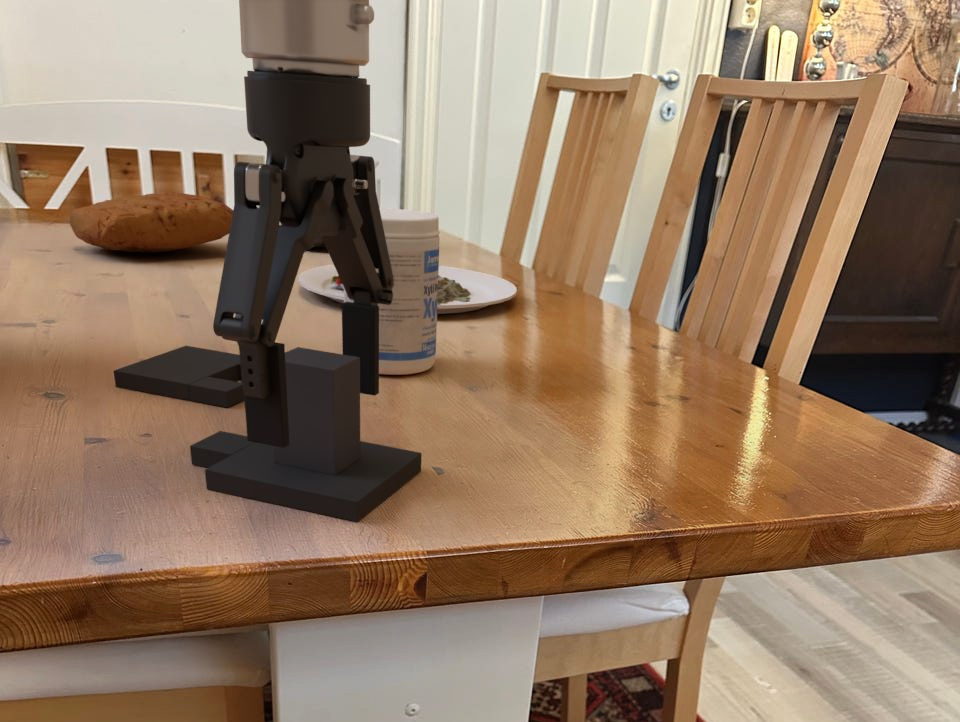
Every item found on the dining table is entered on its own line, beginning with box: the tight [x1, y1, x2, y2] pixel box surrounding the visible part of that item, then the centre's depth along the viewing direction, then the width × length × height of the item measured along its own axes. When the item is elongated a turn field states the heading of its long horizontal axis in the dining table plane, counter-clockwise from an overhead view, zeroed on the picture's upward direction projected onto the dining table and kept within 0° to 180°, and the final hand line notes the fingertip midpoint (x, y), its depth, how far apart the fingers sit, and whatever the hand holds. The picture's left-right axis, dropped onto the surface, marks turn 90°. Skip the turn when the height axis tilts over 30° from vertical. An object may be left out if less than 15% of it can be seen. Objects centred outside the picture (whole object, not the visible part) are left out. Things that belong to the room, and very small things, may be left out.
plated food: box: [297, 263, 518, 315], centre depth 128 cm, size 30×30×3 cm
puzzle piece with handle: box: [189, 346, 423, 523], centre depth 67 cm, size 16×11×9 cm
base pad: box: [113, 345, 245, 409], centre depth 88 cm, size 12×11×2 cm
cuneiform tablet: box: [69, 192, 233, 254], centre depth 143 cm, size 22×17×8 cm
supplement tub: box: [344, 207, 440, 376], centre depth 94 cm, size 10×10×15 cm
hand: (318, 415), depth 67 cm, fingers open, 13 cm apart
